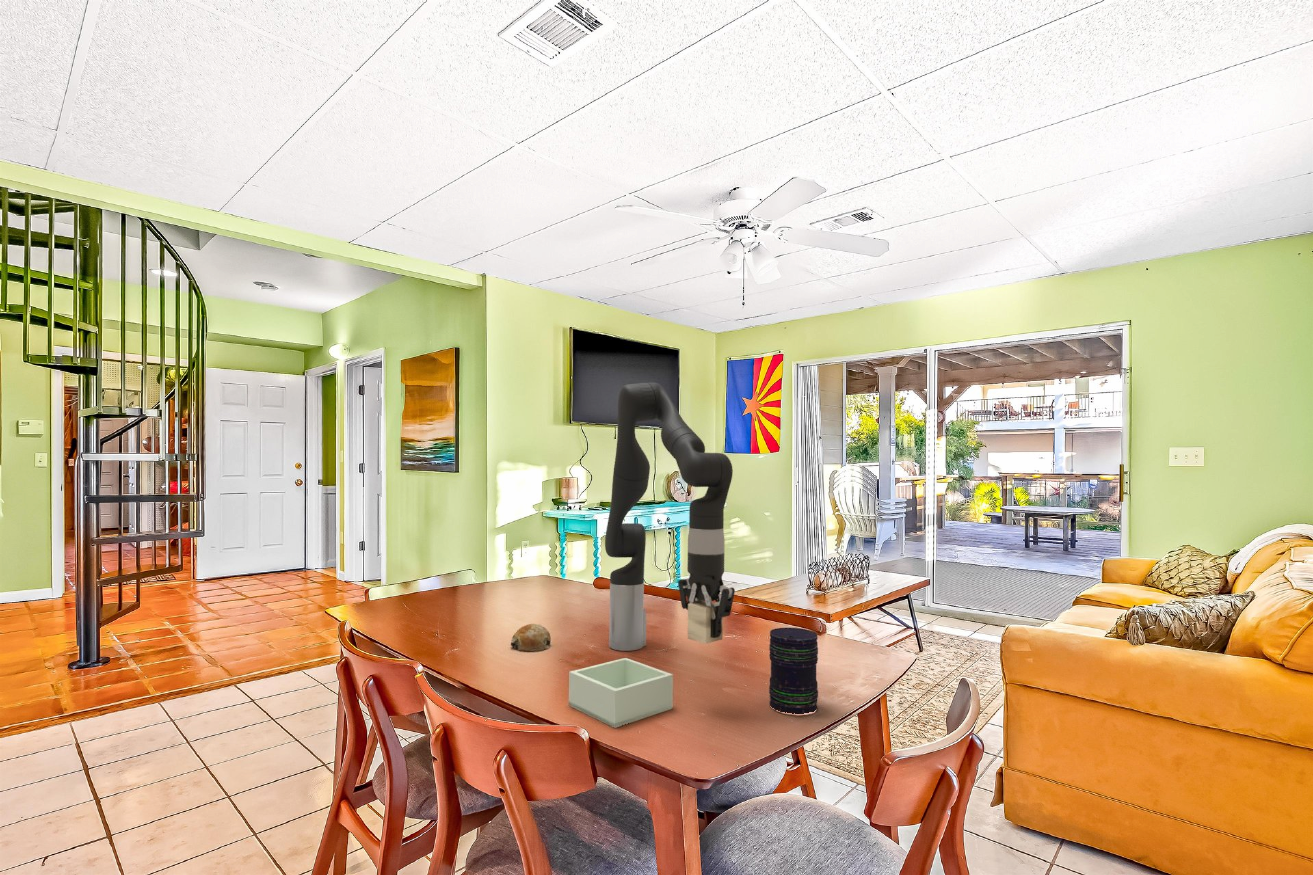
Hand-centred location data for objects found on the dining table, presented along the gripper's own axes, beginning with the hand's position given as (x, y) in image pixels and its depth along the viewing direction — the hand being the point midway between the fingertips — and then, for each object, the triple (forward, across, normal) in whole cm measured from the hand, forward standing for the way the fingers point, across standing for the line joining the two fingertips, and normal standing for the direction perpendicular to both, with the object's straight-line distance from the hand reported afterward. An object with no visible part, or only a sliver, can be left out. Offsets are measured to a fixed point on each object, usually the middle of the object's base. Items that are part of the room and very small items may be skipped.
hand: (705, 633), depth 132 cm
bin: (+15, +12, +12) cm, 23 cm away
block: (+1, 0, 0) cm, 1 cm away
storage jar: (+15, -11, -15) cm, 24 cm away
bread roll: (+16, +61, +3) cm, 63 cm away
